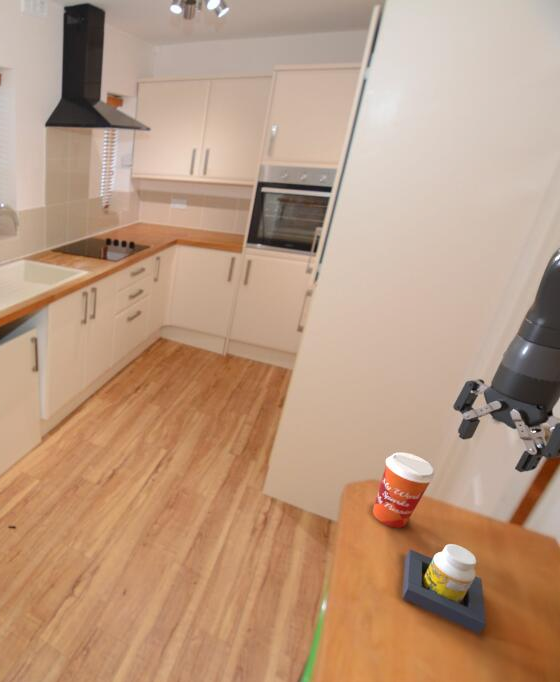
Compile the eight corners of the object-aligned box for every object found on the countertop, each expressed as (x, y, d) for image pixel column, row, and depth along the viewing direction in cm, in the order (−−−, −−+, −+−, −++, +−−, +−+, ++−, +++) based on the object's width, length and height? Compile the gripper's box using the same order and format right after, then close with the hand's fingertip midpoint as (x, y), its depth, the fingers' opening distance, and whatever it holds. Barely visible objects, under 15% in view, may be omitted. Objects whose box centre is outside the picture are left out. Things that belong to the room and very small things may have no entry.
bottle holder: (475, 588, 79) (481, 578, 78) (479, 634, 72) (486, 624, 71) (405, 558, 85) (409, 548, 84) (402, 598, 77) (407, 588, 76)
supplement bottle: (464, 612, 75) (488, 573, 71) (425, 601, 77) (446, 562, 73) (452, 585, 80) (474, 546, 76) (415, 575, 81) (435, 536, 77)
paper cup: (361, 515, 94) (382, 462, 88) (373, 497, 98) (394, 445, 92) (406, 539, 89) (432, 483, 82) (417, 518, 93) (442, 465, 87)
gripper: (616, 387, 63) (561, 478, 70) (501, 344, 76) (464, 425, 83) (577, 394, 62) (524, 487, 68) (466, 349, 74) (431, 431, 81)
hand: (491, 453), depth 76 cm, fingers open, 8 cm apart
